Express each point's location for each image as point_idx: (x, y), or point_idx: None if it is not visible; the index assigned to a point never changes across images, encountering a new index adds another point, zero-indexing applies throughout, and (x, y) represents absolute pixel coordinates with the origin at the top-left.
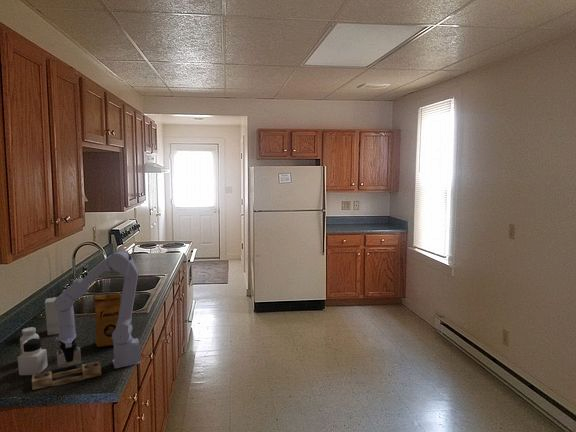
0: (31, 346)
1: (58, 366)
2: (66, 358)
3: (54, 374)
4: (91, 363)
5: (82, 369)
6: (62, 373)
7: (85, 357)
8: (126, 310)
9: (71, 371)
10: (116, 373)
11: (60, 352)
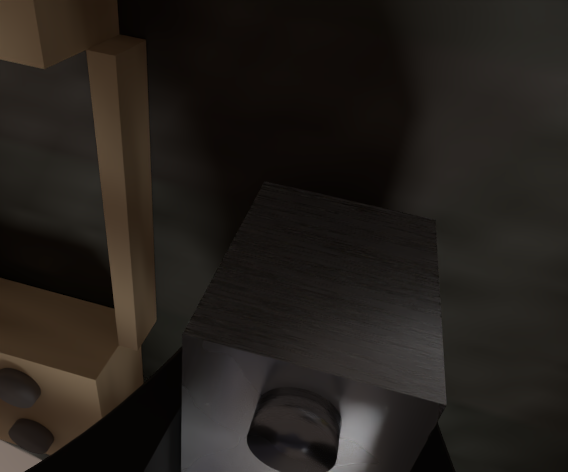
0: None
1: (256, 199)
2: (174, 363)
3: (95, 86)
4: (84, 429)
5: (26, 340)
6: (107, 176)
7: (492, 449)
8: None
9: (115, 260)
10: None
11: (251, 418)
